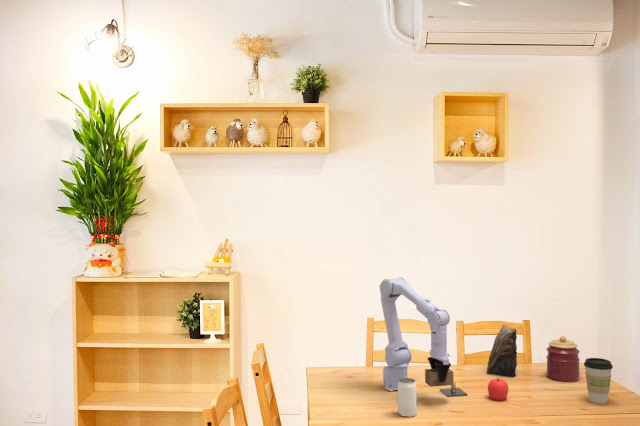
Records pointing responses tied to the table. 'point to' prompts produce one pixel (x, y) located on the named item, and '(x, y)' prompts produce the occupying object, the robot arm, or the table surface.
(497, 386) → the apple
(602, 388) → the coffee cup
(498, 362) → the rock
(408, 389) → the can
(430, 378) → the walnut link
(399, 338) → the robot arm
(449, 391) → the panel
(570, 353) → the canister
